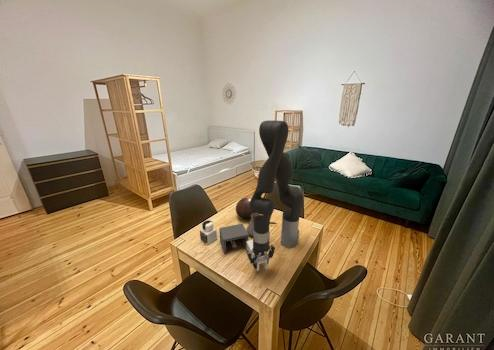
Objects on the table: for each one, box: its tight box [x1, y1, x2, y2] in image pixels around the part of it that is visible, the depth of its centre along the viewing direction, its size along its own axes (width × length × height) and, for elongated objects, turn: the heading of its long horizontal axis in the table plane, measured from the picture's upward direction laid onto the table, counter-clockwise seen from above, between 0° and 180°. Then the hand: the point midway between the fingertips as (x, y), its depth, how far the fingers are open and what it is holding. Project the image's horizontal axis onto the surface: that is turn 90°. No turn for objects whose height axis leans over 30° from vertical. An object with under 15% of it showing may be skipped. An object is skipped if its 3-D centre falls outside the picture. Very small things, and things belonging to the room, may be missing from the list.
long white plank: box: [245, 239, 268, 272], centre depth 103 cm, size 16×5×5 cm, turn 19°
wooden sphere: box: [235, 197, 255, 221], centre depth 141 cm, size 15×15×15 cm
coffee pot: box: [246, 213, 277, 238], centre depth 121 cm, size 21×12×15 cm, turn 44°
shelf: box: [218, 223, 249, 255], centre depth 116 cm, size 11×14×10 cm
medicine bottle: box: [199, 219, 218, 245], centre depth 120 cm, size 7×7×12 cm
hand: (260, 265), depth 98 cm, fingers closed on long white plank, 5 cm apart
